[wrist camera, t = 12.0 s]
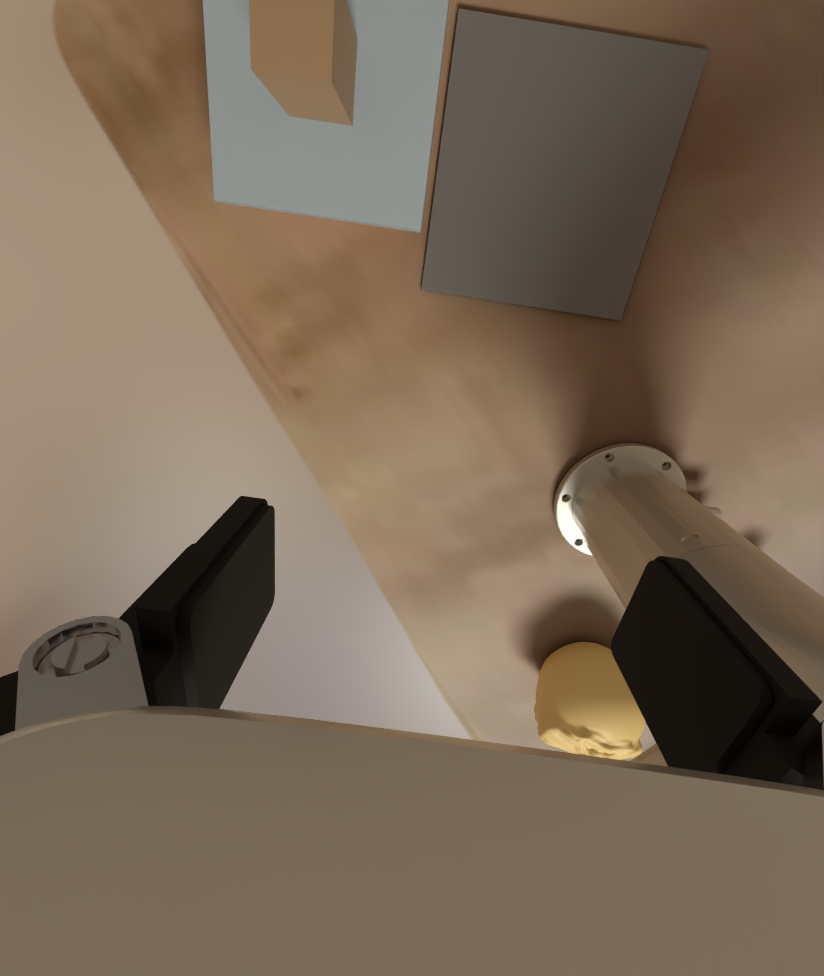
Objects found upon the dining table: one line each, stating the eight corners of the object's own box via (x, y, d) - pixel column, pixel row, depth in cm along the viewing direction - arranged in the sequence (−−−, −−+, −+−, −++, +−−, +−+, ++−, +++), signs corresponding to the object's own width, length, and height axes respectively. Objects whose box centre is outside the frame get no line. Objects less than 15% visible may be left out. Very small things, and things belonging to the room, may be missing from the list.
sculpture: (514, 686, 54) (532, 771, 45) (554, 618, 49) (584, 698, 40) (595, 706, 55) (630, 795, 45) (642, 642, 50) (692, 726, 41)
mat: (706, 52, 28) (709, 49, 28) (618, 320, 35) (620, 320, 35) (458, 12, 28) (458, 8, 28) (421, 290, 35) (421, 289, 35)
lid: (456, -59, 23) (465, -192, 17) (421, 232, 29) (417, 215, 23) (205, -99, 23) (118, -250, 17) (221, 202, 29) (161, 176, 22)
